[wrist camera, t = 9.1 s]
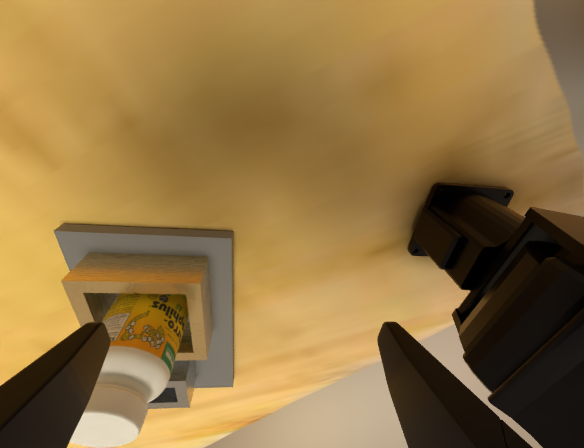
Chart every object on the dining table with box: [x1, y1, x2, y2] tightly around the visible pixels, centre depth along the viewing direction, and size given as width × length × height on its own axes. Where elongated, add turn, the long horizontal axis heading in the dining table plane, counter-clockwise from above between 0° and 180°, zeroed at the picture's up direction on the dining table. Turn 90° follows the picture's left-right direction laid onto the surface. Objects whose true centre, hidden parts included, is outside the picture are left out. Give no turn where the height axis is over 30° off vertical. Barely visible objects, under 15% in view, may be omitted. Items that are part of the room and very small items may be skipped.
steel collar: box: [147, 360, 197, 409], centre depth 25 cm, size 4×4×3 cm
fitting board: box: [54, 224, 234, 388], centre depth 24 cm, size 12×20×1 cm, turn 174°
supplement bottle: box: [70, 293, 189, 448], centre depth 18 cm, size 5×5×10 cm
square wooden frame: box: [61, 252, 213, 361], centre depth 21 cm, size 8×8×3 cm
